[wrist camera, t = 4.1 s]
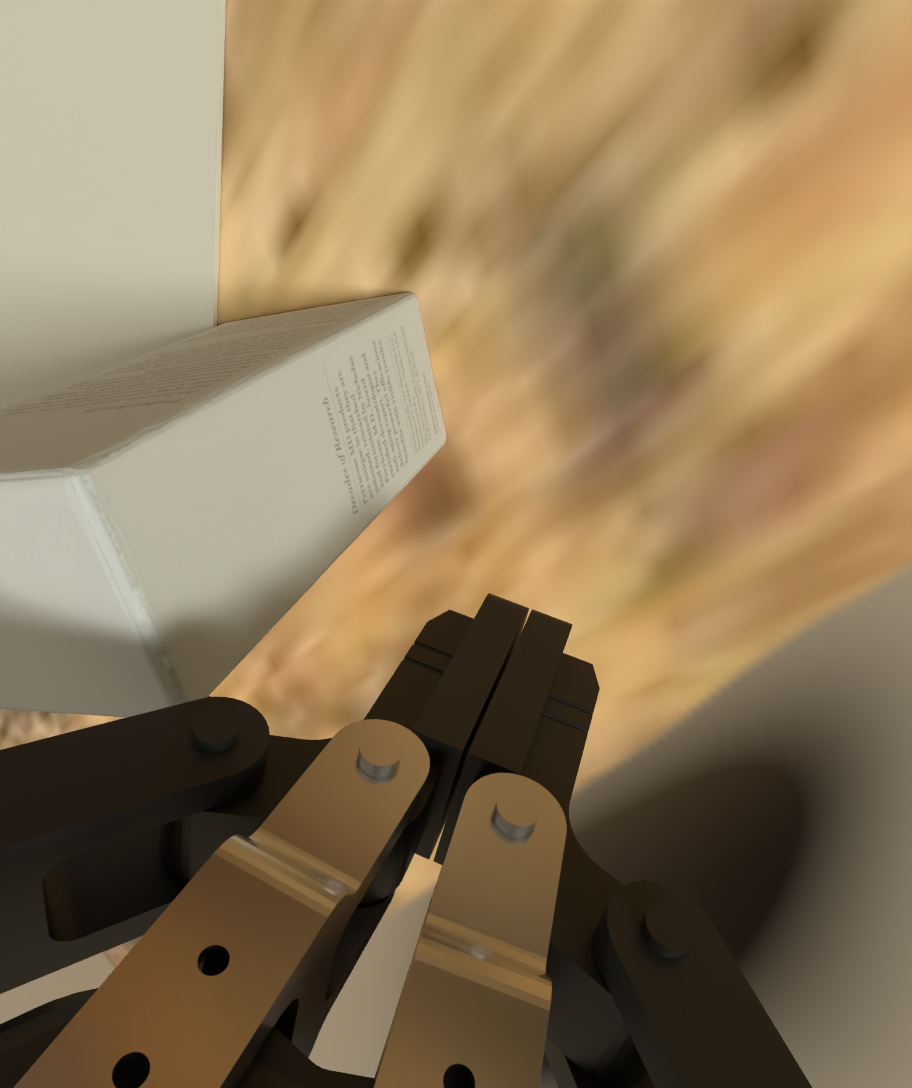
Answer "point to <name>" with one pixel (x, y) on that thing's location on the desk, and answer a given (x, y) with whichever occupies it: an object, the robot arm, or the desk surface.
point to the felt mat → (106, 183)
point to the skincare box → (199, 499)
